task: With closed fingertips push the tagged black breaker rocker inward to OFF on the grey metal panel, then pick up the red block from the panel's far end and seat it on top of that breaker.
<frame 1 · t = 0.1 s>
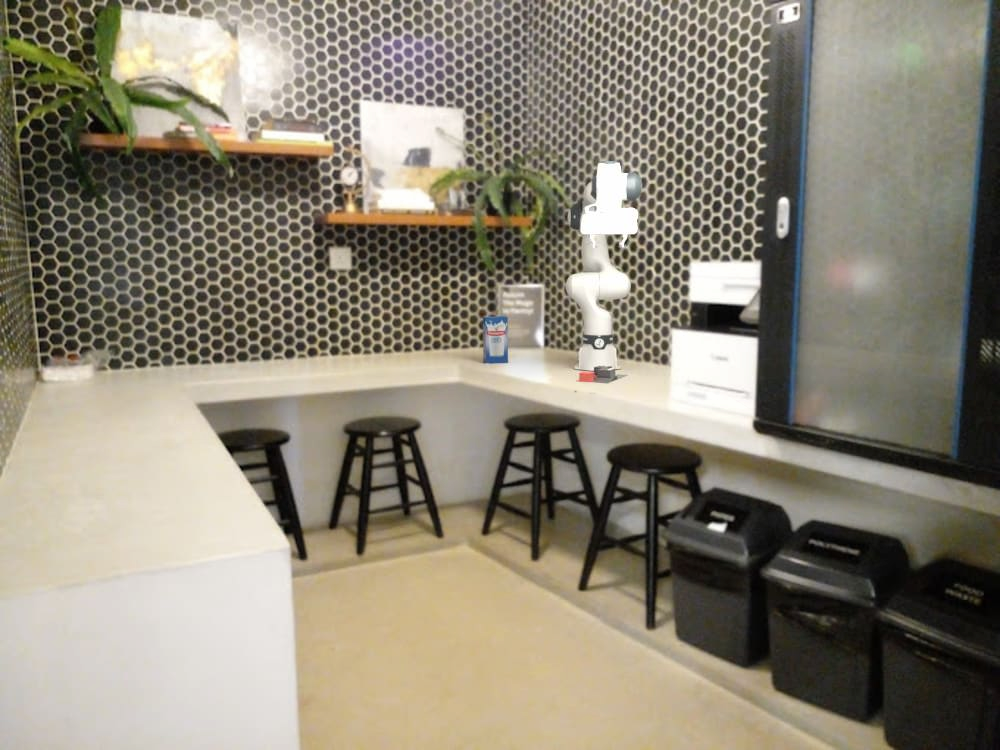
hand: (608, 247, 267), 48 cm above the counter, tool pointing down, fingers open, 8 cm apart
milk carton: (495, 362, 330), on the counter
red block: (586, 380, 263), point 1 cm above the counter, touching panel
breaker: (606, 373, 266), point 4 cm above the counter, slide at 0.0 cm
panel: (602, 382, 270), on the counter
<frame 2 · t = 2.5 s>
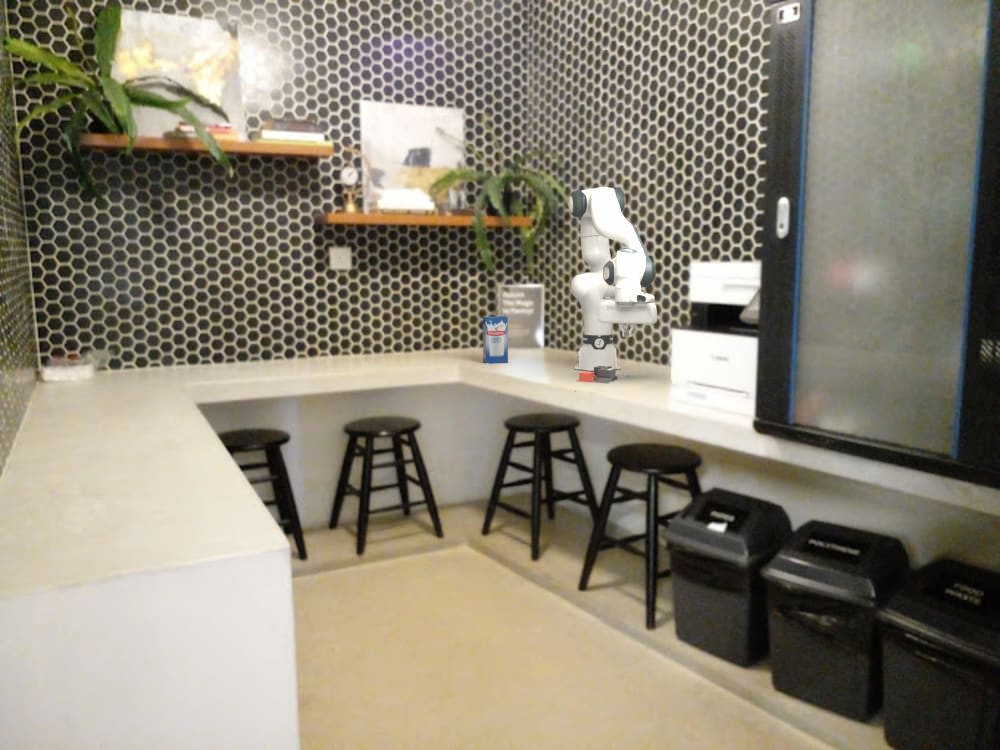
hand: (627, 336, 260), 17 cm above the counter, tool pointing down, fingers closed
nothing on the counter moved.
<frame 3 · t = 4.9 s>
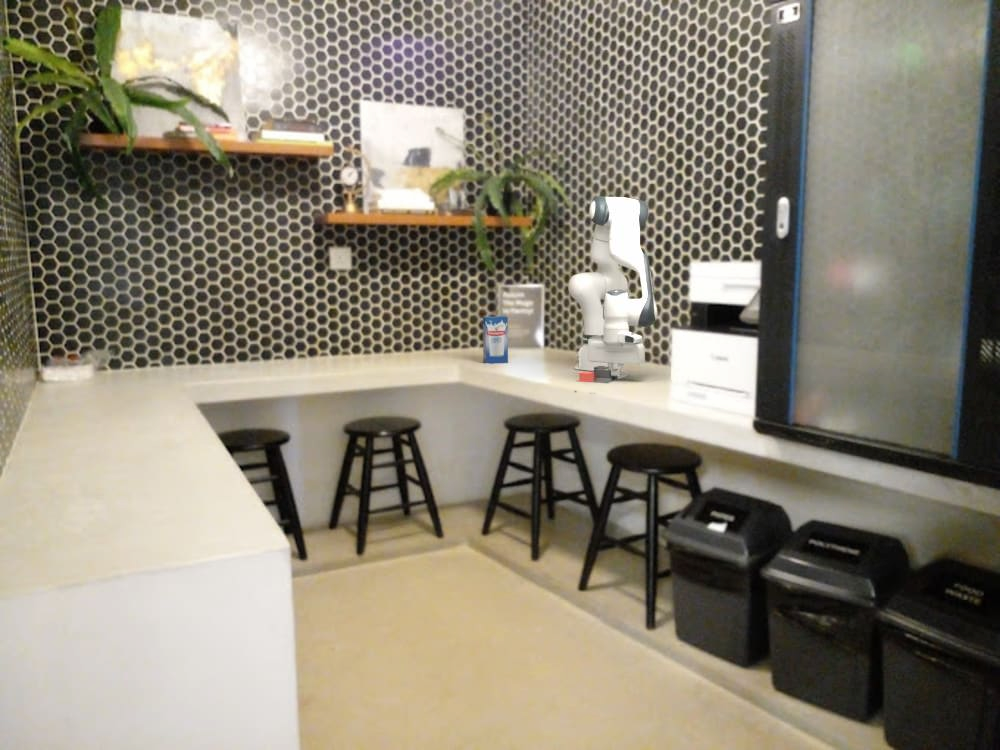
hand: (615, 375, 264), 3 cm above the counter, tool pointing down, fingers closed
breaker: (604, 373, 266), point 4 cm above the counter, slide at 0.8 cm, touching gripper
everything else where it was.
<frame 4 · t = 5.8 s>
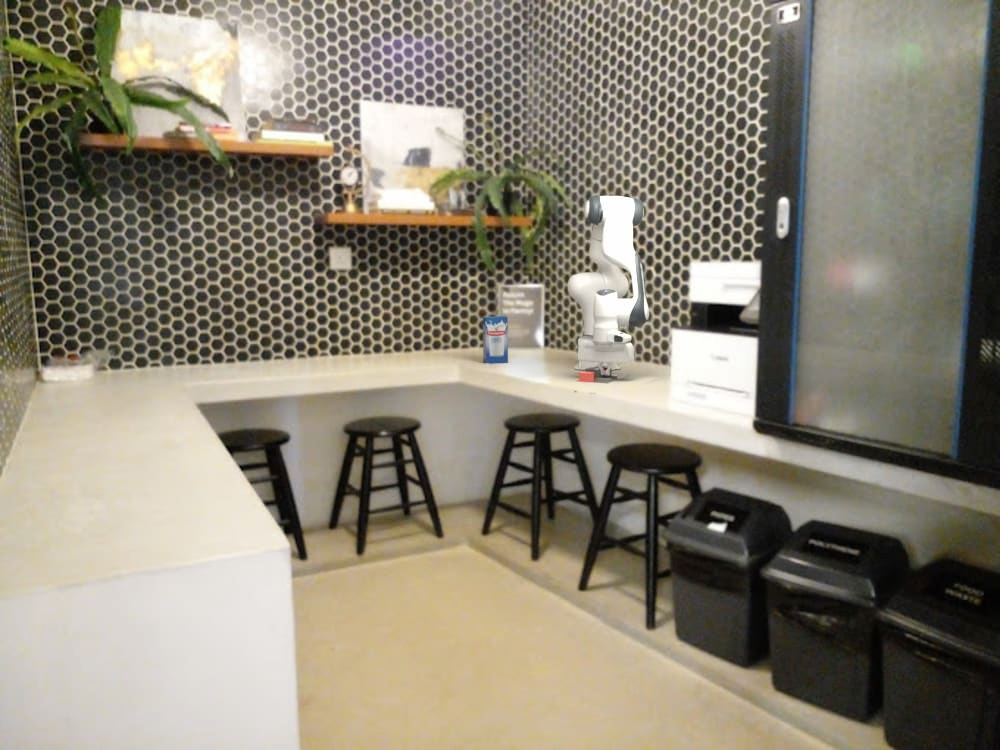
hand: (605, 375, 266), 3 cm above the counter, tool pointing down, fingers closed
breaker: (594, 373, 268), point 4 cm above the counter, slide at 4.6 cm, touching gripper
everything else where it was.
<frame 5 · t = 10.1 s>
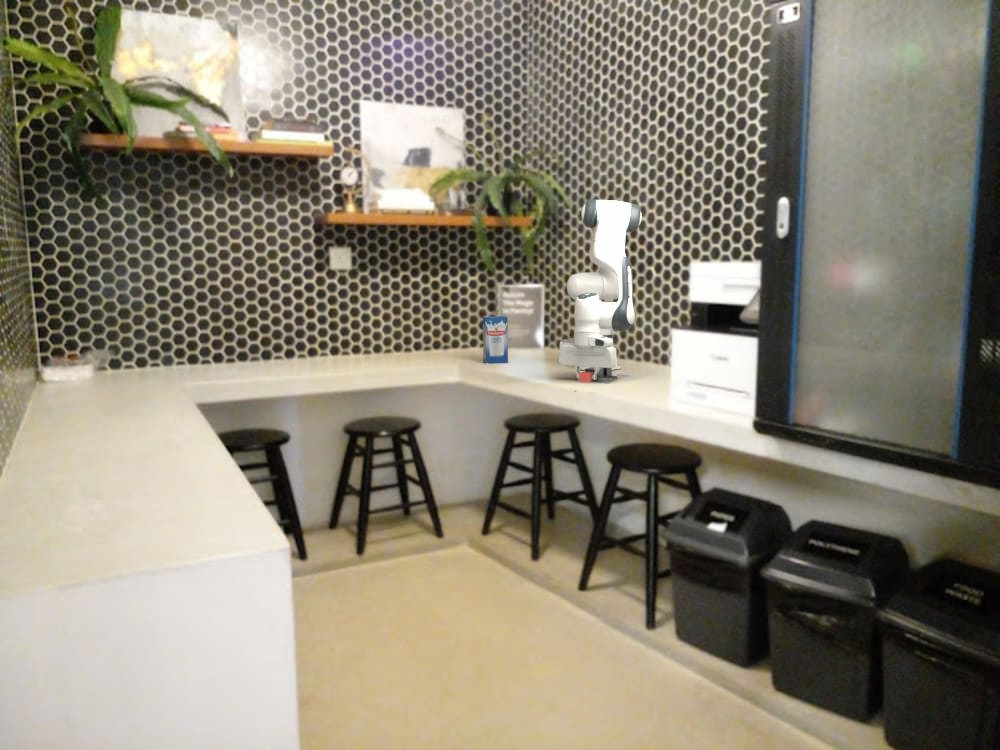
hand: (586, 379, 263), 2 cm above the counter, tool pointing down, fingers closed on red block, 4 cm apart
red block: (586, 380, 263), point 1 cm above the counter, touching gripper, panel
breaker: (594, 373, 268), point 4 cm above the counter, slide at 4.5 cm
everything else where it was.
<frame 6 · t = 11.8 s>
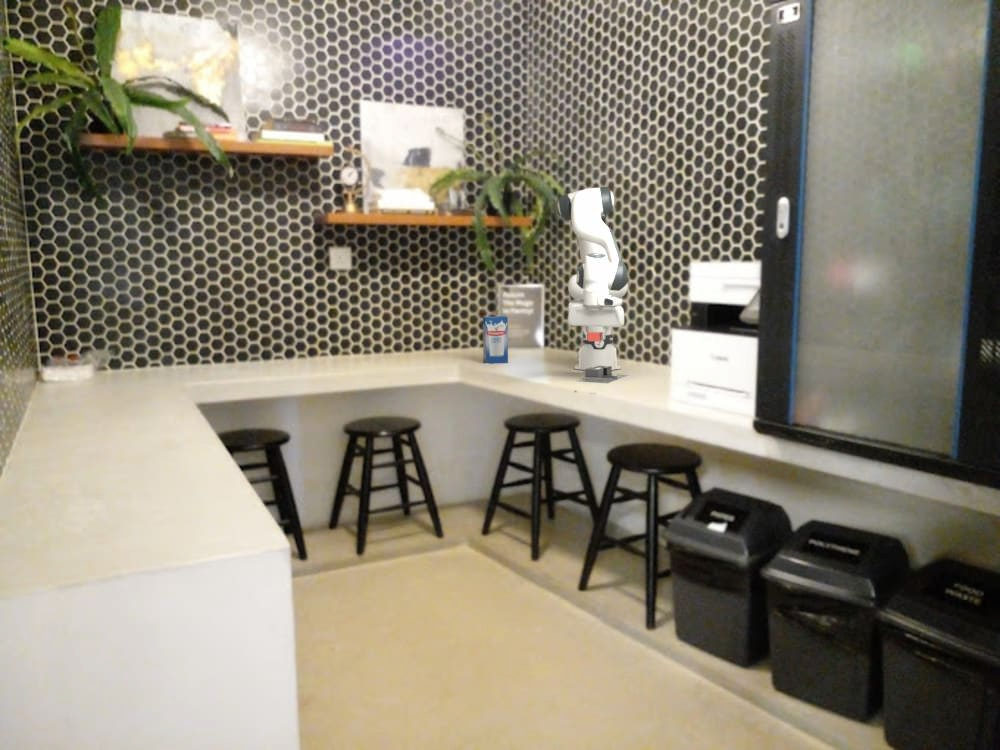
hand: (595, 339, 266), 16 cm above the counter, tool pointing down, fingers closed on red block, 4 cm apart
red block: (595, 340, 266), point 15 cm above the counter, touching gripper
everything else where it was.
when the fingers open (6 cm above the counter, at t = 13.9 s): red block stays where it is, resting on breaker.
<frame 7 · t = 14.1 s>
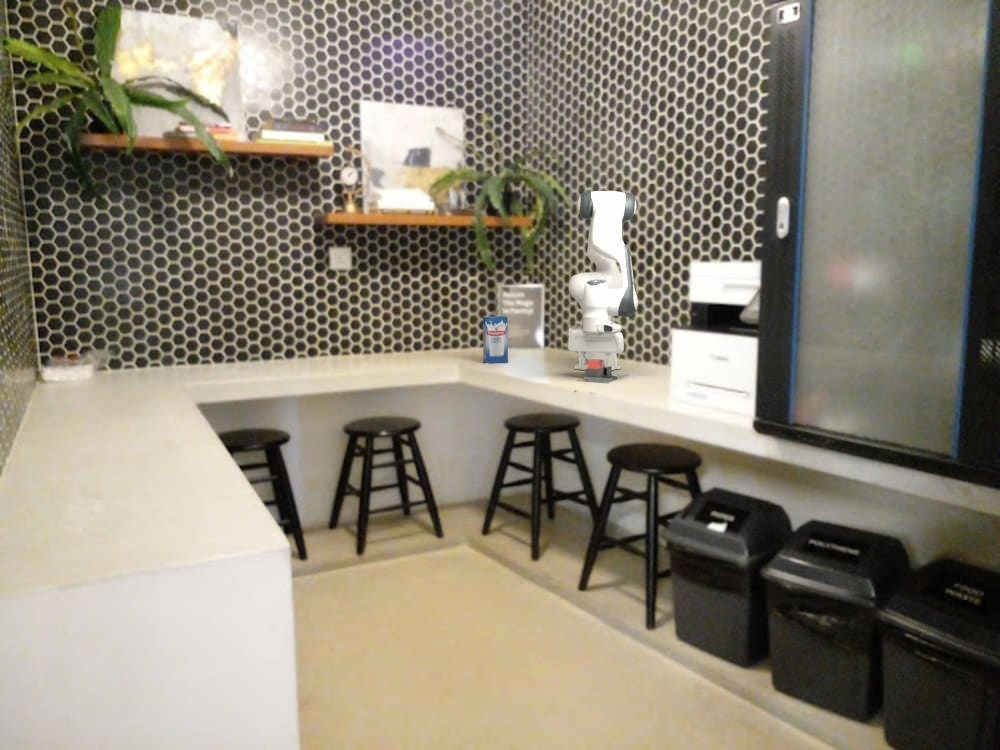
hand: (595, 365, 267), 6 cm above the counter, tool pointing down, fingers open, 6 cm apart
red block: (595, 368, 267), point 5 cm above the counter, touching breaker
breaker: (594, 373, 268), point 4 cm above the counter, slide at 4.5 cm, touching red block
everything else where it was.
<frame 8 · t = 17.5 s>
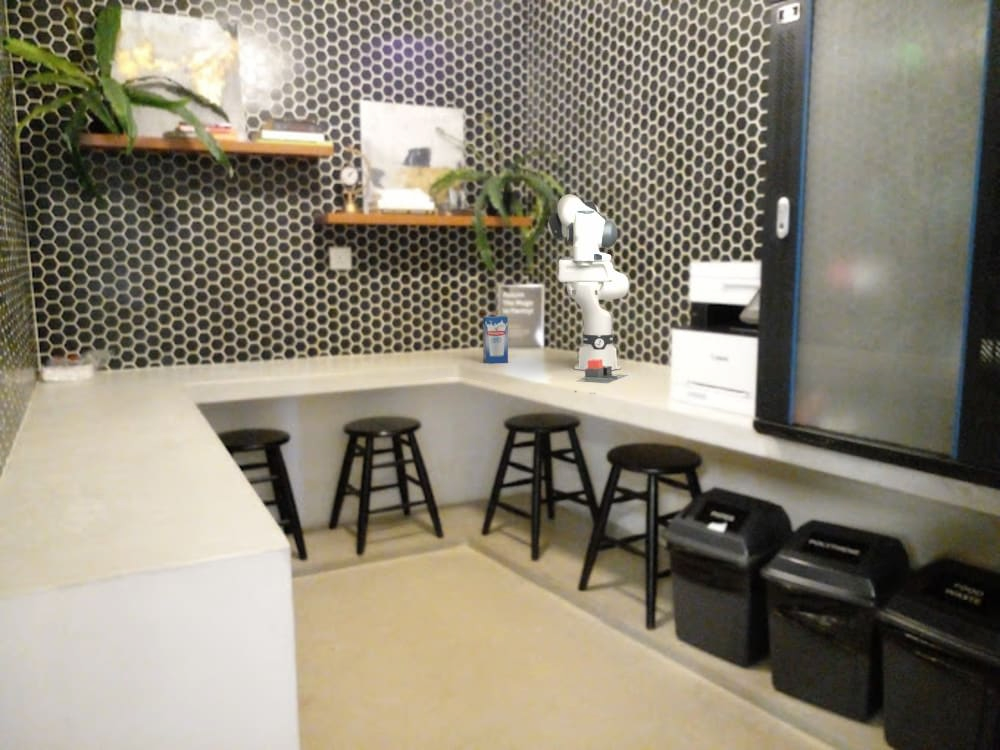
hand: (585, 295, 270), 31 cm above the counter, tool pointing down, fingers open, 8 cm apart
nothing on the counter moved.
at the end: breaker slide at 4.5 cm; red block 0.4 cm off-centre on the breaker, point 5.3 cm above the breaker's base; the gripper is holding nothing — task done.
